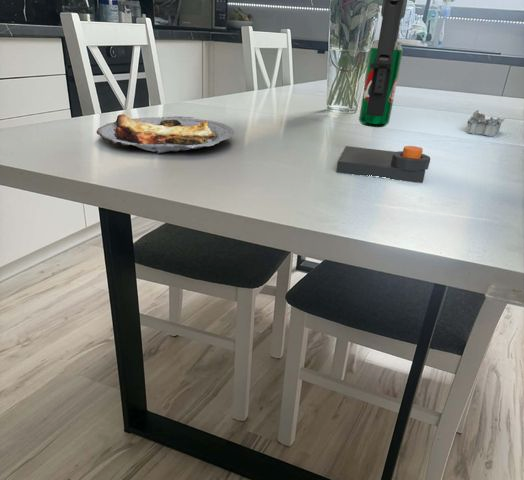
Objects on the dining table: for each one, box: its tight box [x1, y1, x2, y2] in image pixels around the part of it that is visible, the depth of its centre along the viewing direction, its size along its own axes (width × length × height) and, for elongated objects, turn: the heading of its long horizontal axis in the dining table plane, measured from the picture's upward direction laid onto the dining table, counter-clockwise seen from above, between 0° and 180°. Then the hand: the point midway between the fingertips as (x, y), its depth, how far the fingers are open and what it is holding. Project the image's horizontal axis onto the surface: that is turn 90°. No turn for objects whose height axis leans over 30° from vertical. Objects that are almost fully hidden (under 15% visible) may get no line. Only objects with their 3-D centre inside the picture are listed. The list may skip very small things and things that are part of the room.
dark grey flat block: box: [335, 145, 431, 184], centre depth 82 cm, size 14×12×4 cm
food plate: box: [96, 113, 235, 154], centre depth 90 cm, size 25×23×4 cm
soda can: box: [358, 39, 404, 128], centre depth 78 cm, size 5×5×12 cm
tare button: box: [402, 145, 423, 159], centre depth 77 cm, size 3×3×2 cm
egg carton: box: [465, 109, 506, 137], centre depth 117 cm, size 11×8×4 cm
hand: (375, 112), depth 80 cm, fingers closed on soda can, 5 cm apart
